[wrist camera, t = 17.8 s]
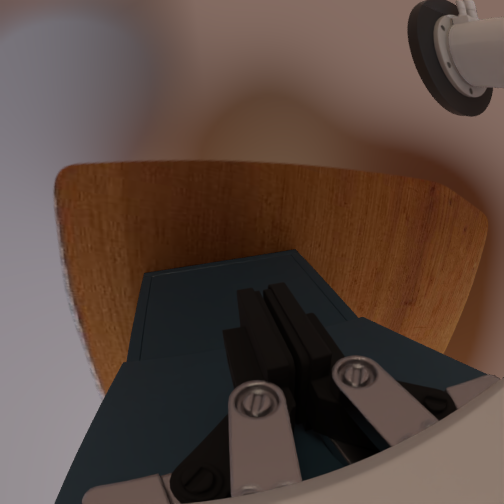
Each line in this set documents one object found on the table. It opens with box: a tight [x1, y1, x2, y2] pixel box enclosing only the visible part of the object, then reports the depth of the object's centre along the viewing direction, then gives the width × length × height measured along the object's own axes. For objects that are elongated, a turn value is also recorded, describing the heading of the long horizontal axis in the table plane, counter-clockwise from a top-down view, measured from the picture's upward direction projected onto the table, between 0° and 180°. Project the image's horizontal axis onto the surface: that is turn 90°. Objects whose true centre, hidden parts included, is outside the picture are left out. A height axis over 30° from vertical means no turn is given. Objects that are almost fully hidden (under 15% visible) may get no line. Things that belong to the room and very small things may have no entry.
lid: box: [55, 317, 487, 504], centre depth 10 cm, size 13×15×1 cm
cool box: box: [127, 250, 358, 362], centre depth 25 cm, size 12×15×12 cm
